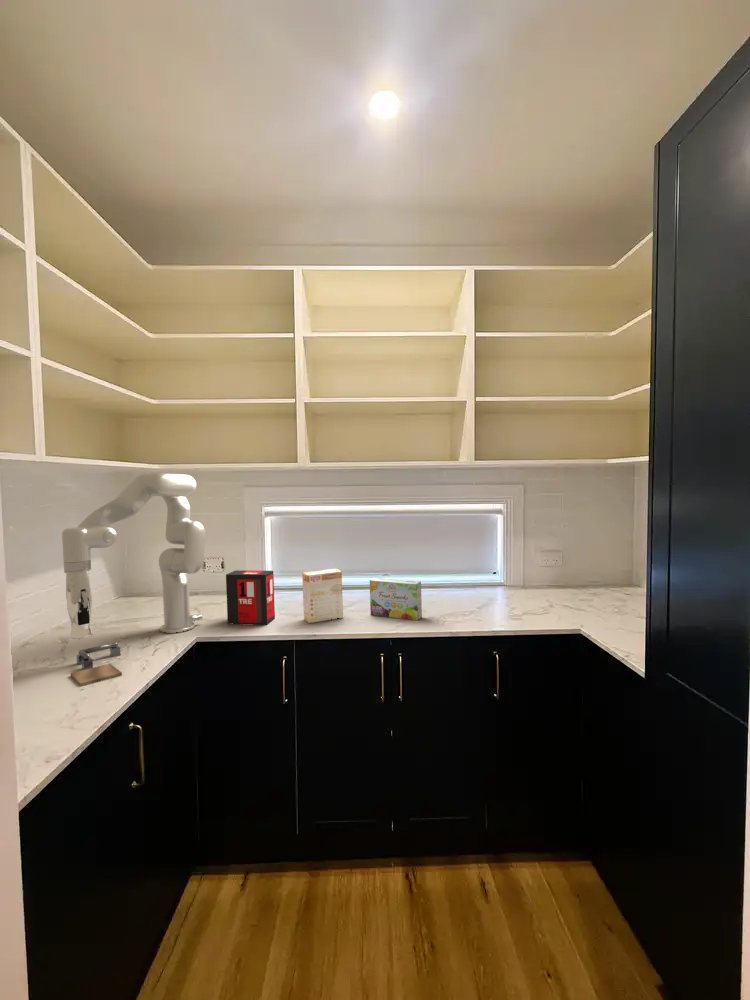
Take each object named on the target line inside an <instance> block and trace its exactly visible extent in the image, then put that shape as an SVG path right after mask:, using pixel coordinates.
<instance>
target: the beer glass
mask: <svg viewBox="0 0 750 1000" xmlns="http://www.w3.org/2000/svg"><path fill="white" fill-rule="evenodd" d="M91 589H92V588H91V587H90V601H89V603H88V606H89V619H90V620H91V617H92V611H93V597H92V590H91ZM87 598H88V597H87ZM88 599H89V598H88ZM79 602H83V601H82V597H80V600H79ZM81 605H83V604H80V607H81ZM66 607H67V609H66V610H67V612H68V613H67V614H68V617H69V621H70V625H71V629H70V630H71V631H70V638H71V639H74V640H77V639H84V638H89V637H91V636H92V635H93V631H92V626H91V622H90V623H88V624H84V625H78V616H77V613H78V603H76V604H72V603H71V592H69V591H67V599H66Z"/></svg>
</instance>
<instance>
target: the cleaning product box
mask: <svg viewBox="0 0 750 1000" xmlns="http://www.w3.org/2000/svg"><path fill="white" fill-rule="evenodd" d="M225 584H226V585H225V587H226V588H225V589H226V610H227V611H226V612H227V624H228V623H233V624H232V625H243V624H253V626H268V625H270V624H271V623H272V622H273V621H274V620H276V612H275V611H276V610H275V609H276V608H275V581H274V570H239V569H238V570H237V569H236V570H233V571H231V572H229V573H226V574H225Z"/></svg>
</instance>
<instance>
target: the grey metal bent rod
mask: <svg viewBox="0 0 750 1000" xmlns="http://www.w3.org/2000/svg"><path fill="white" fill-rule="evenodd" d="M118 644H119V643H117V642H111V643H107V644H106V643H105V644H101V645H98V646H92V647H87V648H84V649H80V650H79V651H78V654H76V664H77V665H78V666H81V667H82V669H83V670H86V669H90V668H94V665H93V664H94V662H93V661H94V660H93V658H92V657H90V656H91V655H90V654H93V653H97V652H101V651H105V650H108V649H109V652H110V656H111V657H112V656H114V657H118V656H117V655H119V656H121V646H120V645H118ZM81 664H82V665H81Z"/></svg>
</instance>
